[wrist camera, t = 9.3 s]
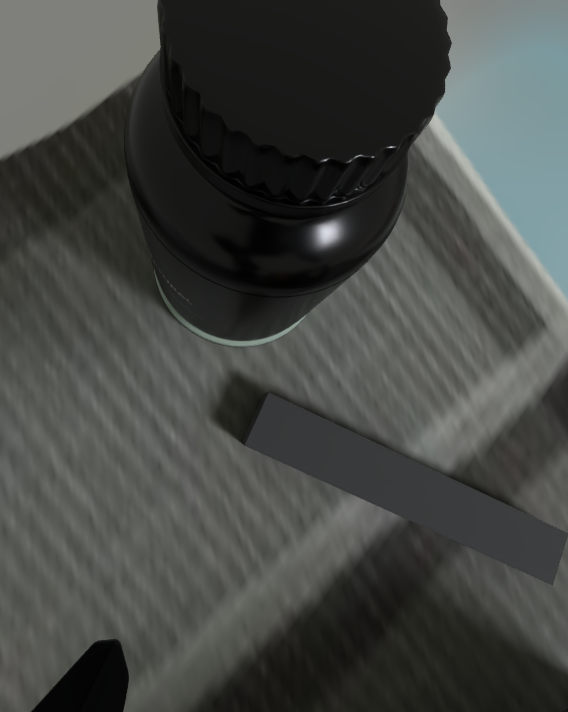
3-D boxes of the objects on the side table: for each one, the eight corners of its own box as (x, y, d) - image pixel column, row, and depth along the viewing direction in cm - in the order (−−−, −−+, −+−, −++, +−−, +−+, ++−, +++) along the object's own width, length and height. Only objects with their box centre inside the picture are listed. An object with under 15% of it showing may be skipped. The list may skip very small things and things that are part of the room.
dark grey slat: (537, 523, 21) (568, 533, 19) (522, 570, 20) (552, 585, 18) (262, 394, 19) (268, 392, 17) (240, 442, 19) (244, 445, 17)
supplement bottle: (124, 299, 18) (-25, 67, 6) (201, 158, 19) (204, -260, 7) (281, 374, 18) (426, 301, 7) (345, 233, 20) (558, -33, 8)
